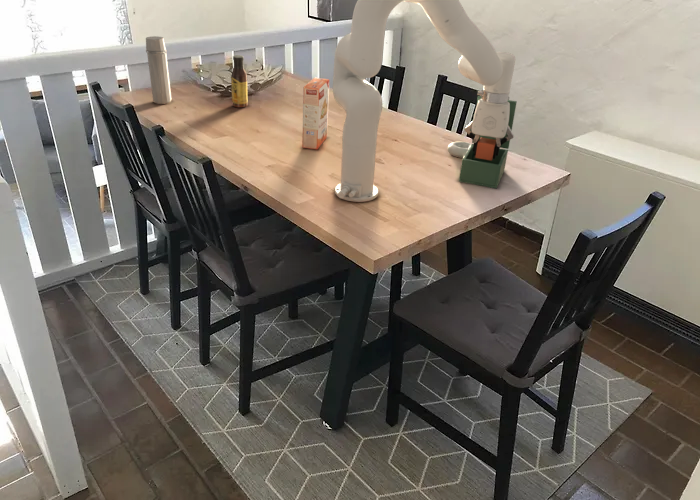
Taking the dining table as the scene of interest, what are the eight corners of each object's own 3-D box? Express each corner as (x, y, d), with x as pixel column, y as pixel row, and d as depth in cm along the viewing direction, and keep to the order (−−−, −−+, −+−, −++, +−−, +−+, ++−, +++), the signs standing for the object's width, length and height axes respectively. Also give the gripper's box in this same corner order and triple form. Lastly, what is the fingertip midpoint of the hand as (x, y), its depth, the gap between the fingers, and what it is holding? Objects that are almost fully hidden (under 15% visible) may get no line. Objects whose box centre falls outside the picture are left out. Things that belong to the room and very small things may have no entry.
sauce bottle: (230, 104, 235) (227, 54, 225) (245, 103, 237) (243, 53, 227) (234, 108, 230) (232, 58, 220) (249, 107, 232) (247, 57, 222)
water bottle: (152, 100, 235) (144, 36, 222) (172, 99, 237) (165, 36, 225) (152, 106, 227) (144, 40, 215) (173, 105, 230) (166, 40, 217)
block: (491, 160, 173) (494, 144, 170) (475, 157, 174) (477, 142, 172) (494, 155, 177) (497, 139, 174) (478, 152, 178) (480, 137, 176)
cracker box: (318, 150, 194) (320, 88, 183) (301, 148, 195) (302, 86, 184) (328, 137, 206) (330, 78, 195) (312, 135, 206) (313, 76, 196)
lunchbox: (496, 188, 173) (500, 166, 169) (458, 181, 176) (462, 159, 172) (504, 171, 185) (508, 149, 182) (468, 164, 189) (472, 143, 185)
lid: (516, 102, 170) (519, 93, 174) (477, 96, 173) (481, 88, 177) (508, 149, 181) (511, 139, 185) (472, 142, 185) (475, 134, 188)
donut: (442, 150, 200) (454, 160, 192) (443, 140, 198) (455, 150, 190) (468, 148, 203) (481, 158, 194) (469, 139, 201) (482, 148, 193)
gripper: (463, 95, 166) (455, 155, 175) (523, 104, 161) (511, 164, 170) (468, 89, 172) (460, 147, 181) (526, 97, 167) (514, 156, 176)
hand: (485, 155), depth 175 cm, fingers closed on block, 5 cm apart
